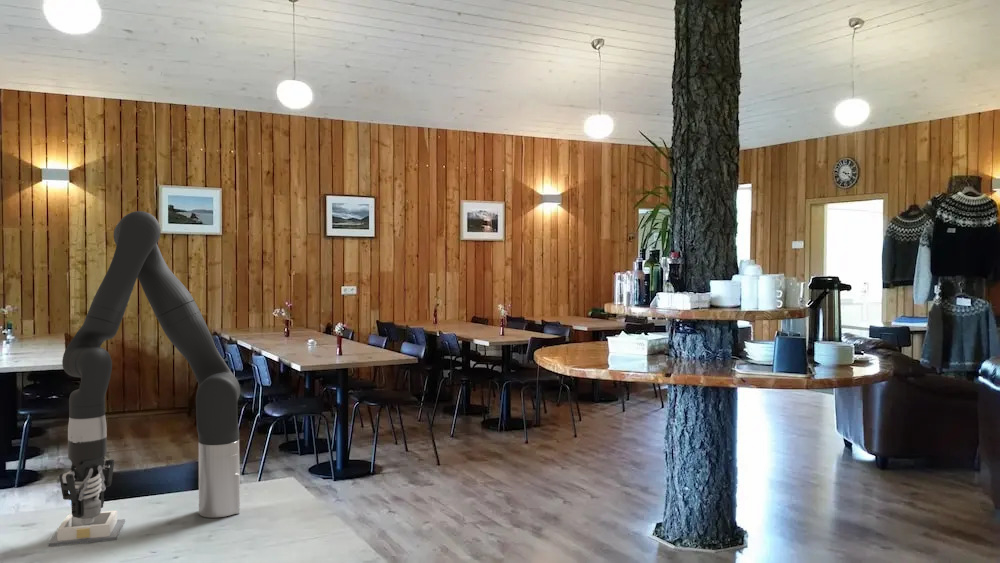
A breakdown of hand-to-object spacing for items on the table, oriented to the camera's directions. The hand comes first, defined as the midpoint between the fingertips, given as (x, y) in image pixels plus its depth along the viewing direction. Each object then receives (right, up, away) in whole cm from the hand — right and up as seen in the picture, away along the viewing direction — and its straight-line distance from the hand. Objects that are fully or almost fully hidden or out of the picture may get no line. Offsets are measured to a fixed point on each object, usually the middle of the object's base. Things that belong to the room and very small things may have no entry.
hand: (88, 512), depth 170 cm
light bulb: (0, -3, 0) cm, 3 cm away
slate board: (0, -5, 0) cm, 5 cm away
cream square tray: (0, -5, 0) cm, 5 cm away
